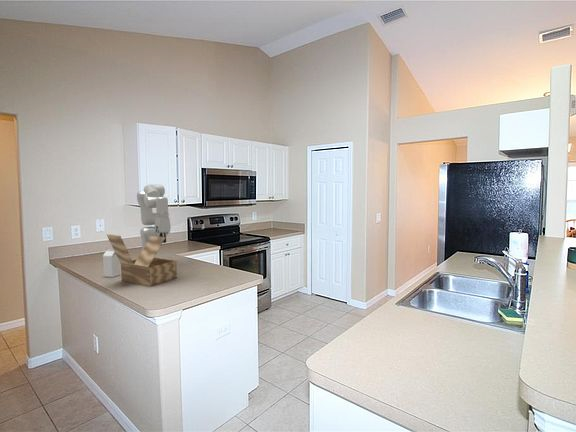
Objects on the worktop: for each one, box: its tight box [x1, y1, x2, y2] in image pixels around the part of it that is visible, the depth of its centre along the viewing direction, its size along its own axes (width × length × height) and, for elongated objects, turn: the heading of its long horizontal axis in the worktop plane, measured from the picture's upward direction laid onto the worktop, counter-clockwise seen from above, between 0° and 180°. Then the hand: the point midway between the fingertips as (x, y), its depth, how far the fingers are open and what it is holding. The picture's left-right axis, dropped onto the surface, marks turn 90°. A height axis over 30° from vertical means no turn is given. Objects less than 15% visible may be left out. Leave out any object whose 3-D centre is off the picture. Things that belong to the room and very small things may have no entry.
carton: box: [120, 257, 178, 287], centre depth 216 cm, size 22×28×12 cm
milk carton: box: [102, 248, 121, 278], centre depth 224 cm, size 7×7×19 cm
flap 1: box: [106, 233, 134, 265], centre depth 204 cm, size 22×14×1 cm
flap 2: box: [134, 236, 167, 267], centre depth 208 cm, size 22×14×1 cm
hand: (163, 242), depth 215 cm, fingers closed
